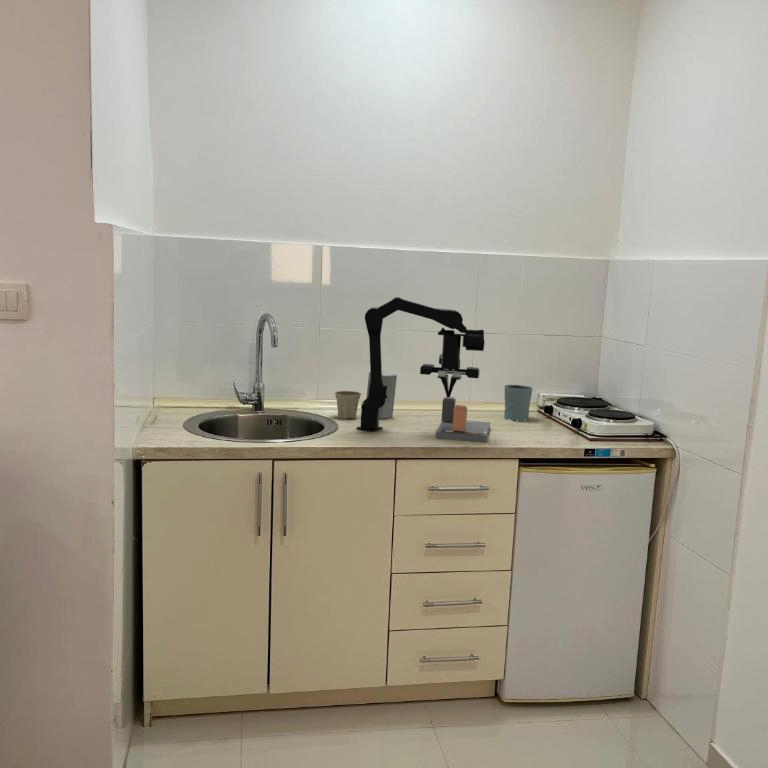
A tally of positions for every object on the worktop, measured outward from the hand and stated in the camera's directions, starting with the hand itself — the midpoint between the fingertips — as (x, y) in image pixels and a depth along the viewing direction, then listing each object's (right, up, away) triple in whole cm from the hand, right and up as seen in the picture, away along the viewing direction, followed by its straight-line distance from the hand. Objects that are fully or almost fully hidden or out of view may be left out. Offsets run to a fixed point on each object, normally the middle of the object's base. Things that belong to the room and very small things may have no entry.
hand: (448, 397), depth 248 cm
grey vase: (-22, -8, +24) cm, 33 cm away
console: (+5, -12, +4) cm, 14 cm away
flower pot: (-34, -8, +20) cm, 40 cm away
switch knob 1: (+1, -8, +12) cm, 14 cm away
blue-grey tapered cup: (+27, -9, +32) cm, 43 cm away
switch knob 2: (+3, -10, -3) cm, 11 cm away
